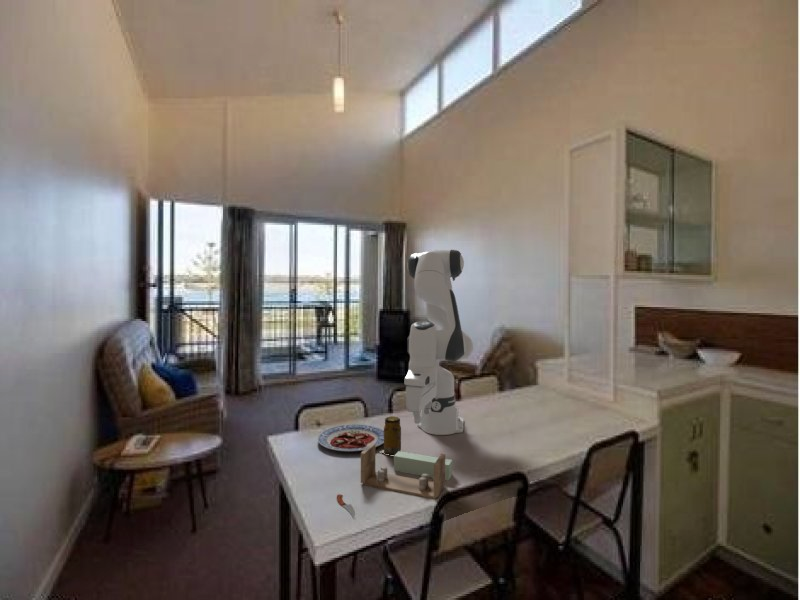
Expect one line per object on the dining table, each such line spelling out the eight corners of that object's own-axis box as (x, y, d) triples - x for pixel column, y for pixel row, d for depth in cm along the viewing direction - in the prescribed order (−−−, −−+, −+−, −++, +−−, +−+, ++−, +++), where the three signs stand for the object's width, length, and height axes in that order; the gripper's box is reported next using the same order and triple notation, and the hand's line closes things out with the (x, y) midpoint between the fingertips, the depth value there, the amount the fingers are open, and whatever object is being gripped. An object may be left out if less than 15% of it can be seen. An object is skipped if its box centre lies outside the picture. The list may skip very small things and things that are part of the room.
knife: (363, 515, 111) (352, 518, 110) (363, 517, 111) (352, 520, 110) (342, 493, 122) (332, 495, 121) (342, 495, 123) (332, 497, 121)
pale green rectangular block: (398, 466, 141) (398, 451, 141) (452, 475, 134) (452, 459, 134) (393, 471, 137) (393, 455, 137) (448, 481, 131) (448, 465, 130)
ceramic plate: (377, 459, 146) (377, 451, 146) (306, 453, 151) (306, 444, 151) (394, 432, 171) (394, 425, 171) (332, 427, 176) (332, 420, 176)
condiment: (392, 446, 157) (392, 414, 156) (409, 453, 151) (409, 419, 150) (378, 452, 151) (377, 418, 151) (395, 459, 145) (395, 424, 145)
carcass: (371, 473, 135) (371, 443, 135) (445, 486, 127) (445, 454, 127) (360, 484, 128) (360, 452, 127) (437, 499, 120) (438, 465, 119)
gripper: (423, 367, 145) (423, 407, 146) (402, 380, 126) (402, 427, 126) (441, 368, 143) (441, 409, 143) (422, 382, 124) (422, 430, 124)
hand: (422, 418), depth 135 cm, fingers open, 8 cm apart
